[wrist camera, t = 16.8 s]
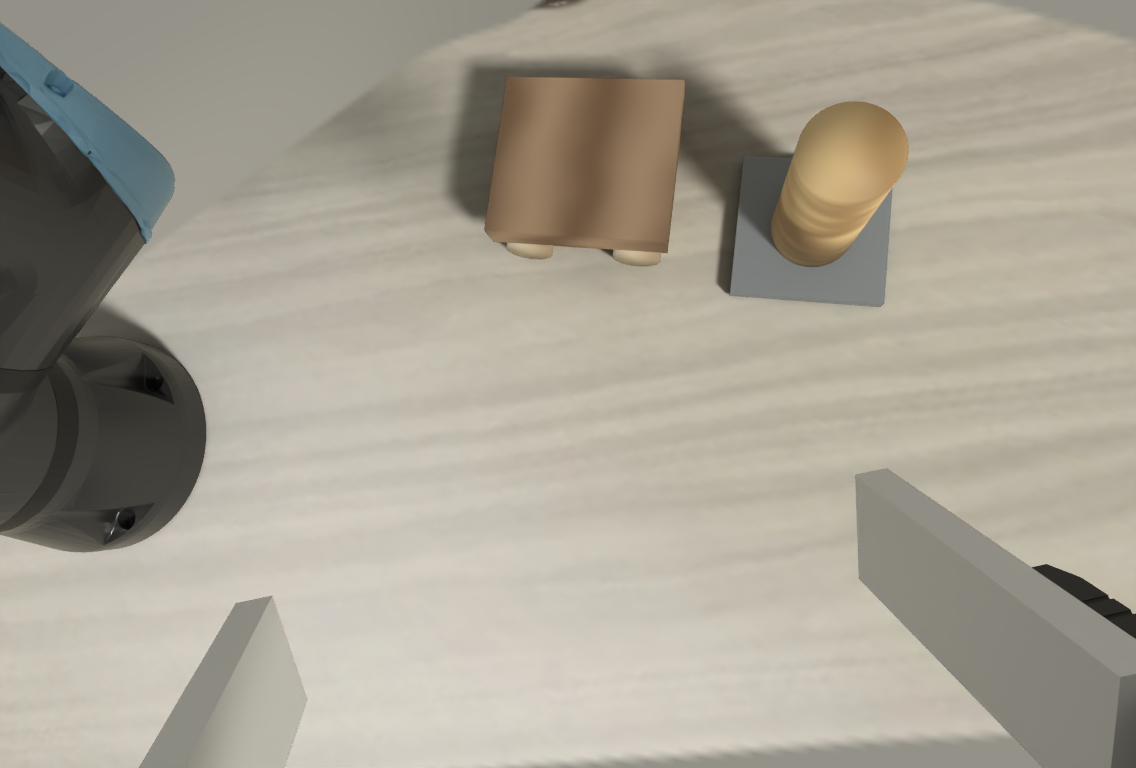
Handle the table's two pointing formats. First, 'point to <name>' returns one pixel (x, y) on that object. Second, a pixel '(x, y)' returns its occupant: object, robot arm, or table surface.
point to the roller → (837, 181)
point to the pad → (778, 278)
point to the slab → (586, 166)
